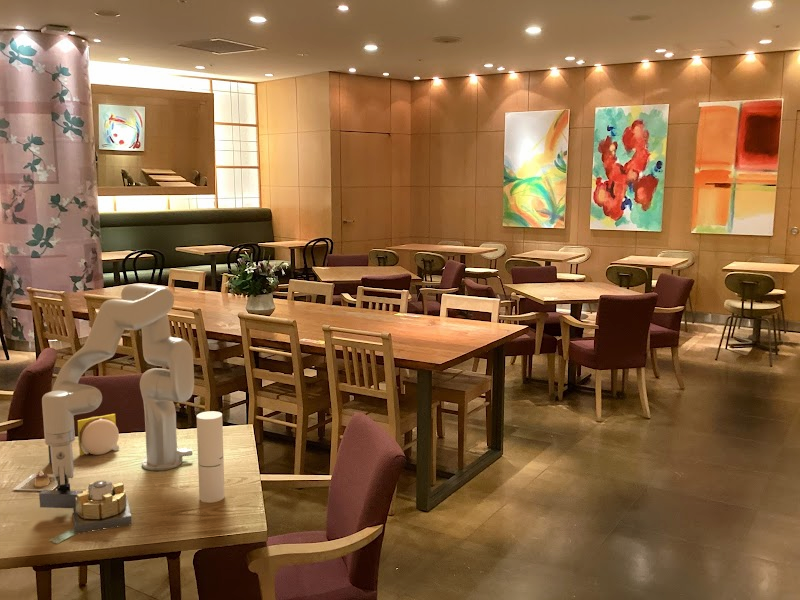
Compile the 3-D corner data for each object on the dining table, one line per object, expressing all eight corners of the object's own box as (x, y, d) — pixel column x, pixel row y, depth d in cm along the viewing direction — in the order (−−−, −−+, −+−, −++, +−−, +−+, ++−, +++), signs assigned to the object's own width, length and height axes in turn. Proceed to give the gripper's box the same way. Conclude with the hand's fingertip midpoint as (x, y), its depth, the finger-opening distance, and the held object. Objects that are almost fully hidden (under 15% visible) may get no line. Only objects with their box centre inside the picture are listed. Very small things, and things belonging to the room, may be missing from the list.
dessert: (33, 476, 233) (32, 462, 232) (71, 477, 232) (70, 463, 232) (12, 493, 221) (11, 477, 220) (52, 494, 221) (51, 478, 220)
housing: (127, 503, 213) (125, 469, 212) (132, 530, 198) (130, 494, 196) (48, 516, 205) (46, 480, 204) (48, 545, 189) (45, 507, 188)
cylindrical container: (229, 494, 221) (227, 412, 216) (215, 504, 214) (213, 420, 210) (208, 490, 223) (205, 410, 219) (194, 500, 216) (191, 417, 212)
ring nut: (132, 500, 210) (131, 481, 209) (113, 519, 198) (112, 499, 197) (53, 497, 211) (52, 478, 210) (30, 516, 199) (29, 496, 198)
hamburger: (84, 460, 245) (82, 425, 243) (77, 452, 251) (75, 418, 249) (122, 452, 252) (120, 418, 250) (114, 445, 259) (112, 412, 257)
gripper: (74, 443, 200) (79, 507, 203) (74, 425, 213) (78, 486, 216) (43, 447, 197) (48, 512, 200) (45, 429, 210) (50, 490, 213)
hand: (64, 498), depth 208 cm, fingers closed
